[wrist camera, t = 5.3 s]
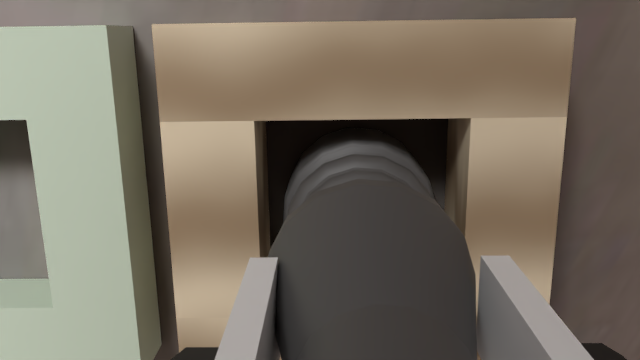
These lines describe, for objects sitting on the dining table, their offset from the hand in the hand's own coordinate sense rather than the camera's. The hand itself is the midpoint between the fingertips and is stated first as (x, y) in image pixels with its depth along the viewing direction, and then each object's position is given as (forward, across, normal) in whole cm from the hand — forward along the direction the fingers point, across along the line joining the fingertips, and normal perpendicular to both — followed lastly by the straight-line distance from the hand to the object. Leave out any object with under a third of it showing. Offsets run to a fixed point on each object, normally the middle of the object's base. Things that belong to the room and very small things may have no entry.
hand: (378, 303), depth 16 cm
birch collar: (+11, 0, 0) cm, 11 cm away
